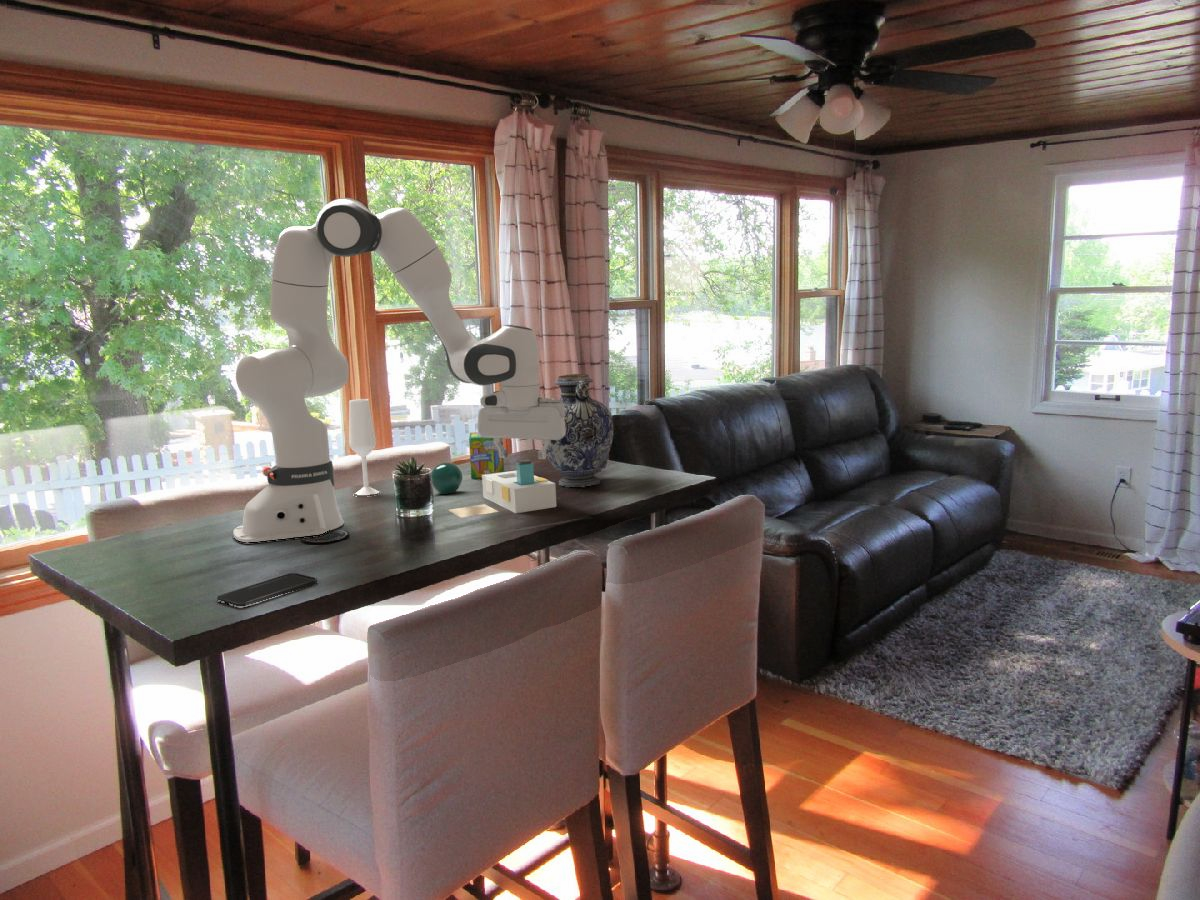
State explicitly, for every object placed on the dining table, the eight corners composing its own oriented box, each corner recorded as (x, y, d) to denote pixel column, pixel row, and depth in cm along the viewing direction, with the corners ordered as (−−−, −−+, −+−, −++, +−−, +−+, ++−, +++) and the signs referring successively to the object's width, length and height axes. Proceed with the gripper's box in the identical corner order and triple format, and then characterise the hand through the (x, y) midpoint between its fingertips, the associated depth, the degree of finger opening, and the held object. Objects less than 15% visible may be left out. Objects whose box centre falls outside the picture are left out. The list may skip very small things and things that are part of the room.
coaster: (461, 520, 191) (461, 517, 191) (447, 512, 199) (447, 509, 199) (499, 514, 195) (499, 511, 195) (484, 506, 203) (484, 504, 203)
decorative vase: (625, 487, 217) (620, 375, 212) (552, 495, 212) (545, 381, 208) (604, 472, 237) (598, 370, 233) (537, 479, 233) (530, 375, 228)
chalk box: (471, 473, 245) (468, 420, 242) (504, 471, 246) (501, 419, 243) (470, 479, 236) (466, 425, 233) (504, 477, 236) (501, 423, 234)
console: (514, 515, 193) (513, 488, 192) (482, 499, 210) (480, 474, 209) (556, 509, 198) (555, 482, 197) (521, 493, 215) (520, 468, 214)
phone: (320, 578, 151) (241, 604, 139) (320, 585, 151) (241, 611, 139) (292, 572, 155) (213, 596, 143) (292, 578, 155) (214, 603, 143)
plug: (521, 499, 197) (519, 462, 196) (517, 497, 200) (515, 460, 199) (535, 498, 198) (533, 461, 197) (531, 495, 201) (529, 458, 200)
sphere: (425, 493, 220) (423, 462, 218) (454, 488, 224) (452, 458, 223) (440, 498, 213) (437, 466, 212) (469, 493, 218) (467, 462, 216)
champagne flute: (376, 496, 219) (368, 401, 215) (349, 497, 219) (341, 402, 215) (383, 490, 225) (375, 398, 221) (357, 491, 226) (349, 399, 221)
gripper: (568, 396, 196) (570, 456, 199) (484, 395, 202) (487, 453, 204) (560, 400, 190) (561, 462, 193) (473, 398, 196) (476, 458, 198)
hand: (522, 457), depth 199 cm, fingers open, 8 cm apart
